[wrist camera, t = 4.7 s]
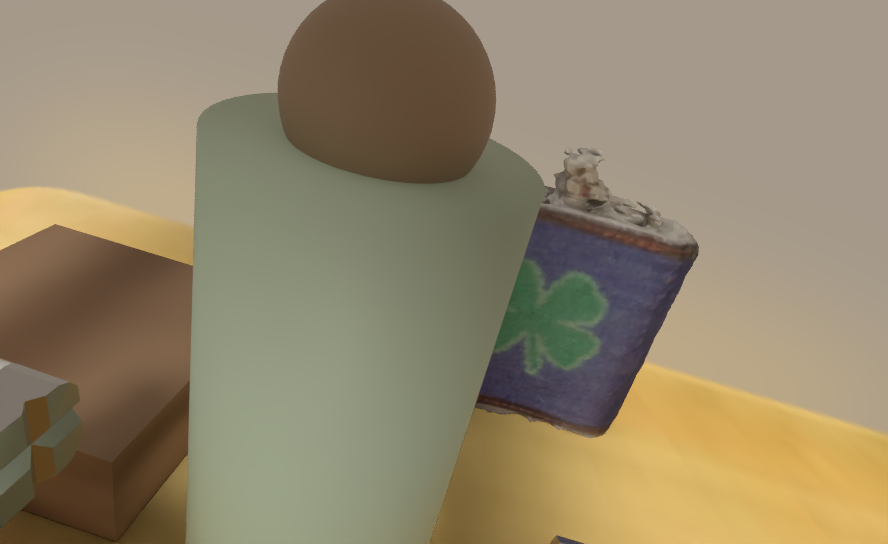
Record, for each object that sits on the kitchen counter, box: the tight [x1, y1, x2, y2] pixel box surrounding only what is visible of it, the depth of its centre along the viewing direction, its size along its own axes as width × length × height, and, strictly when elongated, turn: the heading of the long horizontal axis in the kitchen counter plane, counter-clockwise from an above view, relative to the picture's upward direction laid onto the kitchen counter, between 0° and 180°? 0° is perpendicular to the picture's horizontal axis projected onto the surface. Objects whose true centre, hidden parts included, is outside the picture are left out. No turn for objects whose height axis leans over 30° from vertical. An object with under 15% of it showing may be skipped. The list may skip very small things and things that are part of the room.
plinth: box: [0, 224, 193, 542], centre depth 19 cm, size 9×9×3 cm
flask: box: [475, 147, 699, 438], centre depth 22 cm, size 9×3×11 cm, turn 82°
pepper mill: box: [185, 0, 545, 544], centre depth 11 cm, size 5×5×15 cm
